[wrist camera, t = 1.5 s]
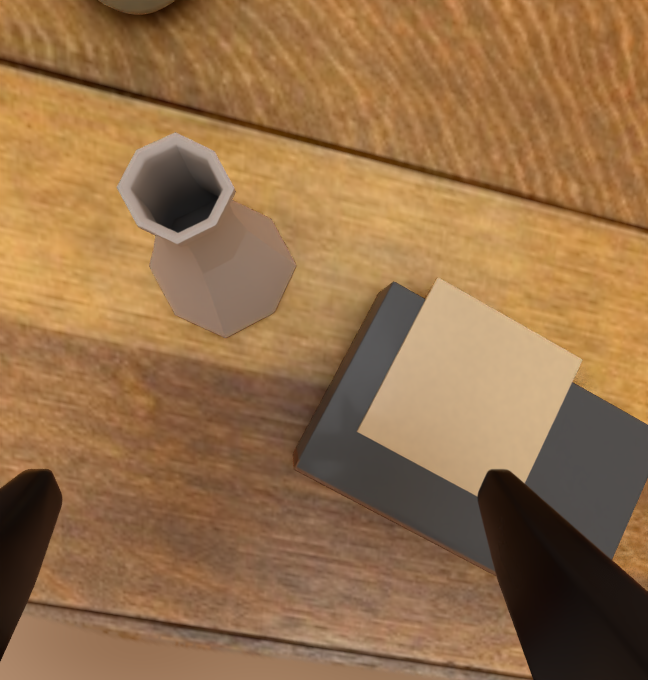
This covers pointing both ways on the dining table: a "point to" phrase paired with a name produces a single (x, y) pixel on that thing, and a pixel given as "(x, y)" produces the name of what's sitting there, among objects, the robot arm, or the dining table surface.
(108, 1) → the cup
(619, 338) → the dining table surface
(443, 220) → the dining table surface
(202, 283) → the octagonal bud vase
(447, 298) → the grey and beige box
